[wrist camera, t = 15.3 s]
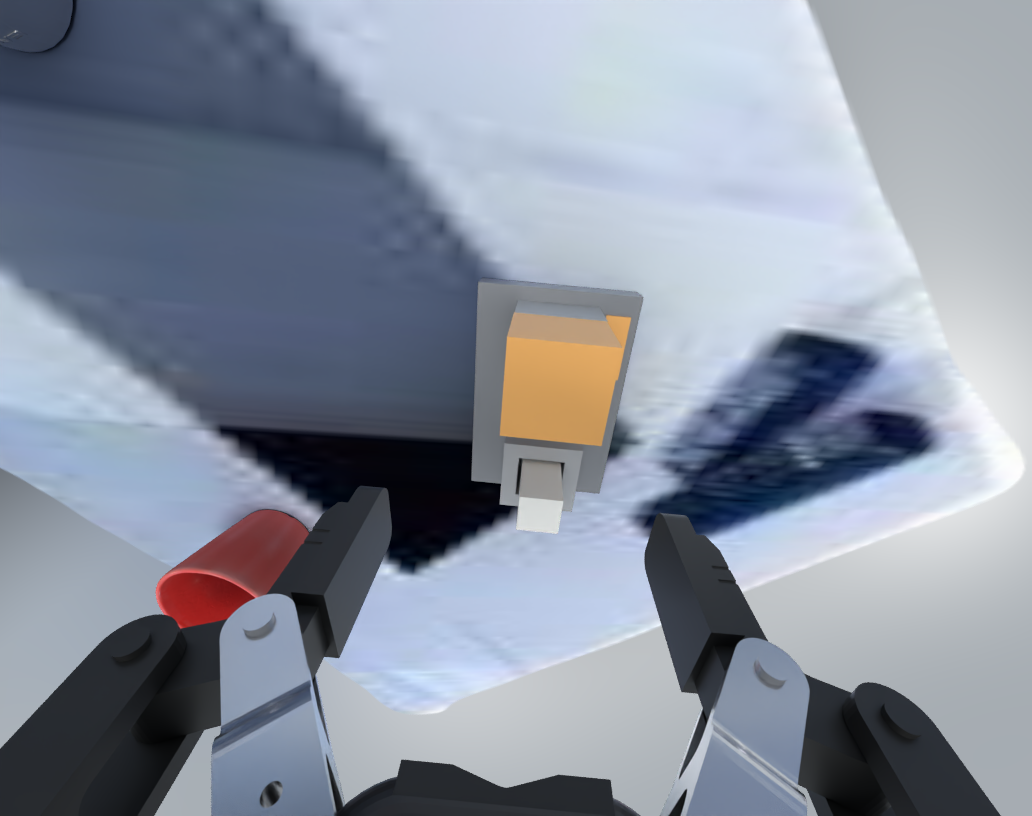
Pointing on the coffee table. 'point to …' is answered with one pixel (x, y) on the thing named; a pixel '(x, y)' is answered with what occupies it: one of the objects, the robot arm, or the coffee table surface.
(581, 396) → the orange wooden cube
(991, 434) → the coffee table surface
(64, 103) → the coffee table surface
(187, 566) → the flower pot
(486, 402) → the breaker panel
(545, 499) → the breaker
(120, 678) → the robot arm
